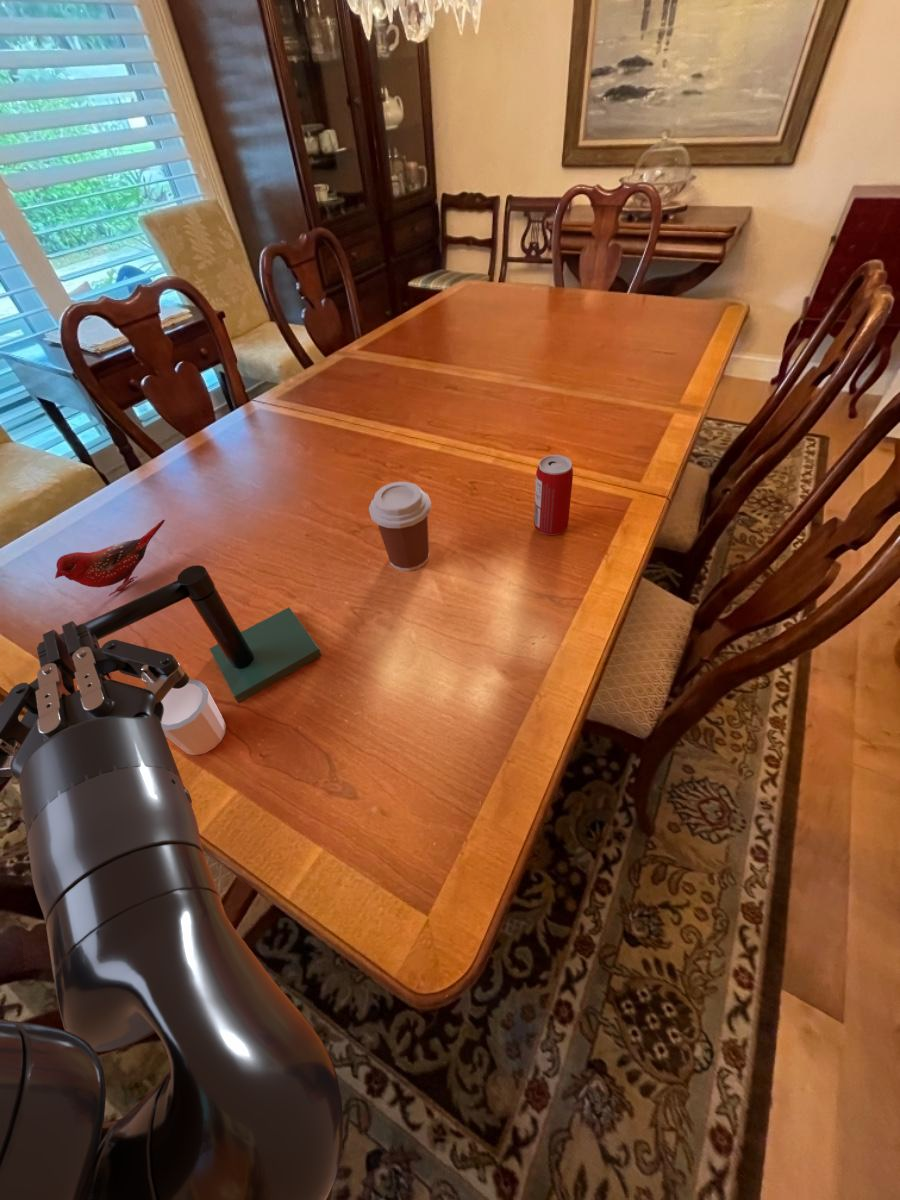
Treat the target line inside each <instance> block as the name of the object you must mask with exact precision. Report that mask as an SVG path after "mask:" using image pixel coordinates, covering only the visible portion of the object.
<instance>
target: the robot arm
mask: <svg viewBox="0 0 900 1200" xmlns="http://www.w3.org/2000/svg"><path fill="white" fill-rule="evenodd" d="M61 629H62V633H64V637H65V640H64V639H63V638H62V637H61V636H60V635H59V633H58V632H57V631H56V630H55V629H51V630H49V631H47V632H45V633H43V634H42V639H43V641H41V642H39V643H38V645H37V648H36V652H37V657H38V662H39V666H40V667H39V669H38V671H37V672H36V676H37V677H36V679H34V680H33V681H32V682H30V683H28V682H20V683H18V684H16V685H14V686H13V687H12V688H11V689H10V690H9V692H8V694H7V695H6V697H5V698H4V700H3V701H2V703H1V704H0V785H2V784H4V783H6V782H8V781H9V780H10V779H11V777H14V778H15V779H17V780H19V781H18V782H19V783H18V785H19V792H20V799H21V806H22V813H23V821H24V827H25V835H26V842H27V849H28V859H29V865H30V873H31V879H32V884H33V889H34V892H35V896H36V899H37V901H38V904H39V907H40V909H41V912H42V914H43V919H44V923H45V929H46V933H47V934H46V935H47V941H48V942H47V943H48V949H49V955H50V962H51V970H52V977H53V982H54V983H53V984H54V988H55V989H54V990H55V995H56V1001H57V1006H58V1007H57V1008H58V1013H59V1016H60V1020H61V1023H62V1026H63V1029H60V1028H57V1027H53V1026H49V1025H44V1024H38V1023H33V1022H25V1021H16V1020H8V1019H5V1018H0V1200H327V1198H328V1197H329V1195H330V1192H331V1190H332V1187H333V1185H334V1183H335V1180H336V1177H337V1175H338V1172H339V1167H340V1163H341V1162H340V1161H341V1157H342V1151H343V1142H344V1141H343V1139H344V1114H343V1113H344V1112H343V1099H342V1094H341V1089H340V1084H339V1078H338V1074H337V1071H336V1068H335V1065H334V1062H333V1060H332V1058H331V1055H330V1053H329V1051H328V1049H327V1048H326V1046H325V1043H324V1042H323V1040H322V1038H321V1037H320V1035H319V1034H318V1033H317V1031H316V1030H315V1028H314V1027H313V1025H312V1024H311V1022H310V1021H309V1019H307V1018H306V1016H305V1015H304V1014H303V1013H302V1011H301V1010H300V1009H299V1007H297V1006H296V1005H295V1003H294V1002H293V1001H292V1000H291V998H289V996H288V995H287V994H286V993H285V992H284V991H283V989H281V987H280V986H279V985H278V984H277V982H276V981H275V980H274V979H273V977H272V976H271V975H270V974H269V972H268V971H267V970H266V968H265V967H264V966H263V964H262V963H261V961H260V960H259V958H257V956H256V954H254V952H253V951H252V949H251V948H250V947H249V945H248V944H247V943H246V942H245V940H244V939H243V938H242V936H241V935H240V934H239V933H238V931H237V930H236V928H235V927H234V926H233V924H232V923H231V921H230V919H229V918H228V916H227V914H226V911H225V908H224V905H223V903H222V900H221V896H220V894H219V891H218V888H217V886H216V882H215V880H214V878H213V874H212V872H211V870H210V866H209V864H208V861H207V859H206V856H205V852H204V850H203V845H202V841H201V836H200V829H199V824H198V821H197V817H196V813H195V811H194V809H193V800H192V797H191V794H190V792H189V790H188V789H187V788H186V786H185V784H184V781H183V779H182V776H181V775H180V772H179V769H178V766H177V764H176V761H175V758H174V756H173V753H172V750H171V747H170V744H169V742H168V738H167V737H165V734H164V731H163V729H162V726H161V721H162V717H163V713H164V707H163V704H162V702H161V701H162V700H163V698H164V697H165V696H166V695H167V693H168V692H169V691H170V690H171V688H175V689H179V688H182V687H184V686H185V685H186V684H187V683H188V682H189V679H190V676H189V675H188V674H187V673H186V671H185V670H184V668H183V667H182V665H180V663H179V662H178V660H177V659H176V658H175V656H174V655H173V654H171V653H167V652H163V651H160V650H158V649H157V650H156V649H152V648H149V647H146V646H142V645H137V644H134V643H130V642H125V641H121V640H119V639H111V640H107V642H105V643H104V644H103V645H102V646H101V647H100V644H99V640H97V638H96V637H95V635H94V634H93V633H92V632H91V631H90V630H89V629H88V628H87V626H85V625H84V624H83V623H81V624H78V625H77V624H76V623H75V622H74V621H72V620H71V621H69V622H67V623H64V624H62V625H61ZM118 671H119V673H121V674H122V675H126V676H130V677H133V678H137V679H141V680H142V682H144V684H145V688H143V687H139V686H136V685H133V684H129V683H126V682H122V681H118V680H115V679H113V675H112V673H114V672H118ZM74 680H75V681H76V683H75V681H74ZM23 709H25V710H26V711H25V713H24V715H23V717H22V718H21V720H19V715H20V714H21V713H22V710H23ZM154 1034H156V1035H157V1036H158V1038H159V1040H160V1041H161V1042H162V1044H163V1047H164V1049H165V1052H166V1054H167V1059H168V1063H169V1072H167V1074H166V1075H165V1076H164V1077H163V1078H162V1079H161V1080H160V1081H159V1082H158V1083H157V1084H155V1086H154V1087H153V1088H152V1089H151V1090H150V1091H149V1092H148V1093H147V1094H146V1095H144V1097H143V1098H142V1099H141V1100H140V1101H139V1102H138V1103H137V1104H136V1105H135V1106H134V1107H133V1108H132V1109H131V1110H130V1111H129V1112H128V1113H127V1114H126V1115H124V1117H121V1118H118V1119H115V1120H111V1121H106V1122H105V1113H106V1099H107V1088H106V1078H105V1073H104V1067H103V1065H102V1061H101V1059H100V1057H99V1055H98V1053H103V1052H104V1053H105V1052H111V1051H115V1050H118V1049H122V1048H125V1047H128V1046H130V1045H134V1044H136V1043H138V1042H140V1041H142V1040H144V1039H146V1038H148V1037H150V1036H152V1035H154Z"/></svg>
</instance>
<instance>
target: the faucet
mask: <svg viewBox="0 0 900 1200" xmlns="http://www.w3.org/2000/svg"><path fill="white" fill-rule="evenodd" d="M189 600H190V602H191V604H192V605H193V607H194V608H195V609H196V611H197V612H198V614H199V616H200V618H201V619H202V621H203V623H204V624H205V625H206V627H207V629H208V630H209V631H210V633H211V635H212V637H213V638H214V640H215V641H216V643H217V644H215V645H213V646H211V647H209V649H208V650H209V651H210V653H211V655H212V657H213V659H214V660H215V663H216V665H217V666H218V669H219V670H220V673H221V674H222V676H223V678H224V680H225V682H226V684H227V685H228V687H229V689H230V692H231V693H232V695H233V697H234V699H235V700H236V702H237V703H238V704H239V703H241V702H243V701H244V700H246V699H248V698H250V697H252V696H253V695H256V694H257V693H259V692H260V691H262V690H264V689H265V688H267V687H270V686H272V684H274V683H276V682H278V681H280V680H282V679H283V678H285V677H287V676H288V675H289V676H290V674H292V673H294V672H296V671H297V670H300V669H301V668H303V667H305V666H306V665H308V664H309V663H312V662H313V661H315V660H318V659H319V658H320V657H323V655H322V652H321V649H320V647H319V646H318V645H317V644H316V642H315V640H314V639H313V638H312V637H311V635H310V634H309V633H308V631H307V630H306V628H305V627H304V626H303V624H302V623H301V622H300V620H299V619H298V618H297V617H298V616H296V615H295V613H294V611H293V610H292V608H291V607H290V606H288V607H286V608H285V609H282V610H280V611H279V612H277V613H274V614H272V615H270V616H268V617H267V618H265V619H263V620H262V621H259V622H257V623H256V624H253V625H252V626H250V627H248V628H246V629H243V630H242V631H241V630H240V628H239V626H238V625H237V623H236V621H235V620H234V618H233V616H232V613H231V612H230V610H229V609H228V607H227V605H226V604H225V602H224V600H223V598H222V597H221V595H220V593H219V591H218V589H217V588H216V586H215V587H214V590H213V591H212V592H211V593H210V594H209V595H208V596H206V597H204V598H202V599H197V600H194V599H190V598H189Z"/></svg>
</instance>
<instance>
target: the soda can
mask: <svg viewBox="0 0 900 1200" xmlns="http://www.w3.org/2000/svg"><path fill="white" fill-rule="evenodd" d="M573 478H574V469H573V462H572V460H571V459H570V458H569V457H567V456H565V455H561V454H550V455H546V456H544V457H542V458H541V459H540V460H539V461H538V465H537V468H536V472H535V492H534V511H533V512H534V515H533V525H534V528H535V529H536V530H537V531H538V532H539V533H541V534H543V535H546V536H556V535H557V536H558V535H560V534H562V533H563V532H565V531H566V530H567V529H568V527H569V520H570V519H569V518H570V511H571V510H570V508H571V500H572V488H573V481H574V480H573Z"/></svg>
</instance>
